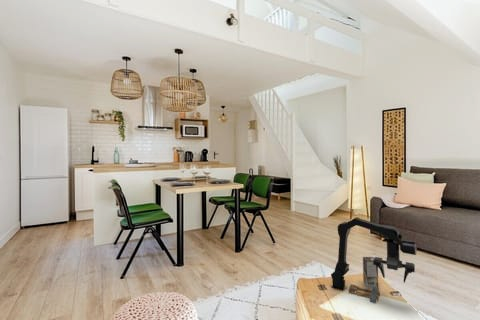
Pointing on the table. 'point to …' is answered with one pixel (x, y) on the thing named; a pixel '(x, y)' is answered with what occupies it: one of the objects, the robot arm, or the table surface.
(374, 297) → the grey bracket bar
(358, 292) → the bar
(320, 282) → the table surface
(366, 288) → the base
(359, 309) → the table surface
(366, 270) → the coffee box
